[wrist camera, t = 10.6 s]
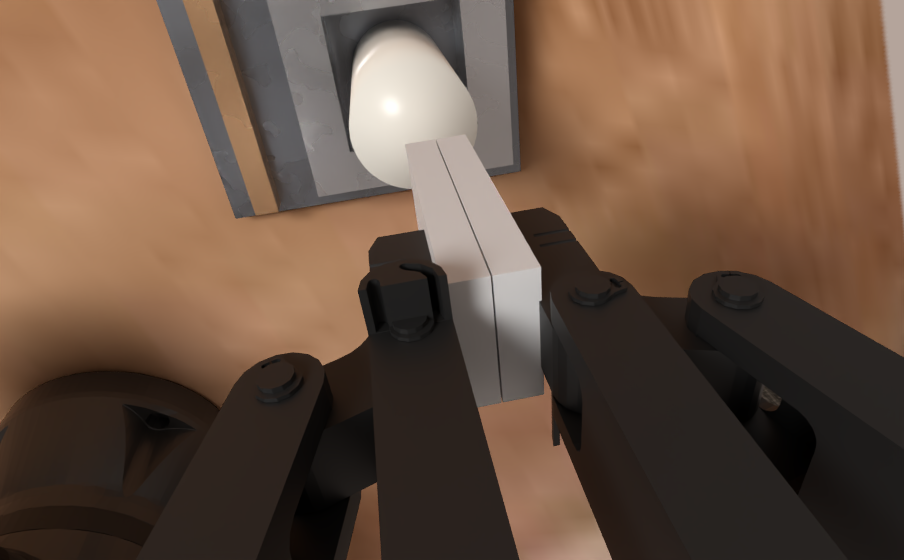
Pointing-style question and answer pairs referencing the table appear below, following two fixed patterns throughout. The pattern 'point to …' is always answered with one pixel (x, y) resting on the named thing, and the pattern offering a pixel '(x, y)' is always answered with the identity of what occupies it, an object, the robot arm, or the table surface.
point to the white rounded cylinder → (403, 99)
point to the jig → (325, 88)
